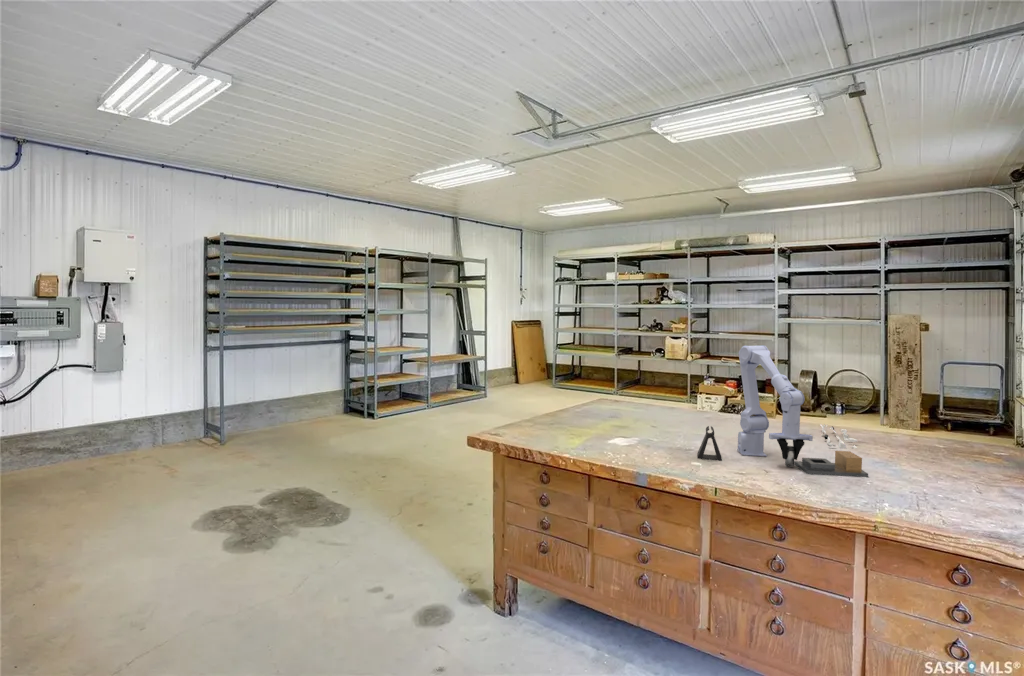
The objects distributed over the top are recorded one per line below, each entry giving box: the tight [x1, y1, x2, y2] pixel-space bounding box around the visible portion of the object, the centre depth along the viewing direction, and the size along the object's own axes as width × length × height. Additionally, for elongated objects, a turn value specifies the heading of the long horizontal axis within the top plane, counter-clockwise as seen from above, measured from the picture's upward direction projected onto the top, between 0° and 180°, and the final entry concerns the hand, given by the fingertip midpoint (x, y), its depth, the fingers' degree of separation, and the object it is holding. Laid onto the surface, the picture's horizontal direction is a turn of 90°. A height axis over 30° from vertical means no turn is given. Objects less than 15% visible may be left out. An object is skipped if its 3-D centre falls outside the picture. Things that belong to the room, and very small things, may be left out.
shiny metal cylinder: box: [784, 445, 795, 468], centre depth 195 cm, size 3×3×7 cm
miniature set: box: [819, 423, 859, 449], centre depth 235 cm, size 6×35×12 cm
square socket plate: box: [794, 450, 869, 478], centre depth 191 cm, size 20×12×6 cm, turn 81°
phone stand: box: [696, 425, 723, 461], centre depth 207 cm, size 9×6×12 cm, turn 71°
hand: (789, 458), depth 195 cm, fingers closed on shiny metal cylinder, 3 cm apart
